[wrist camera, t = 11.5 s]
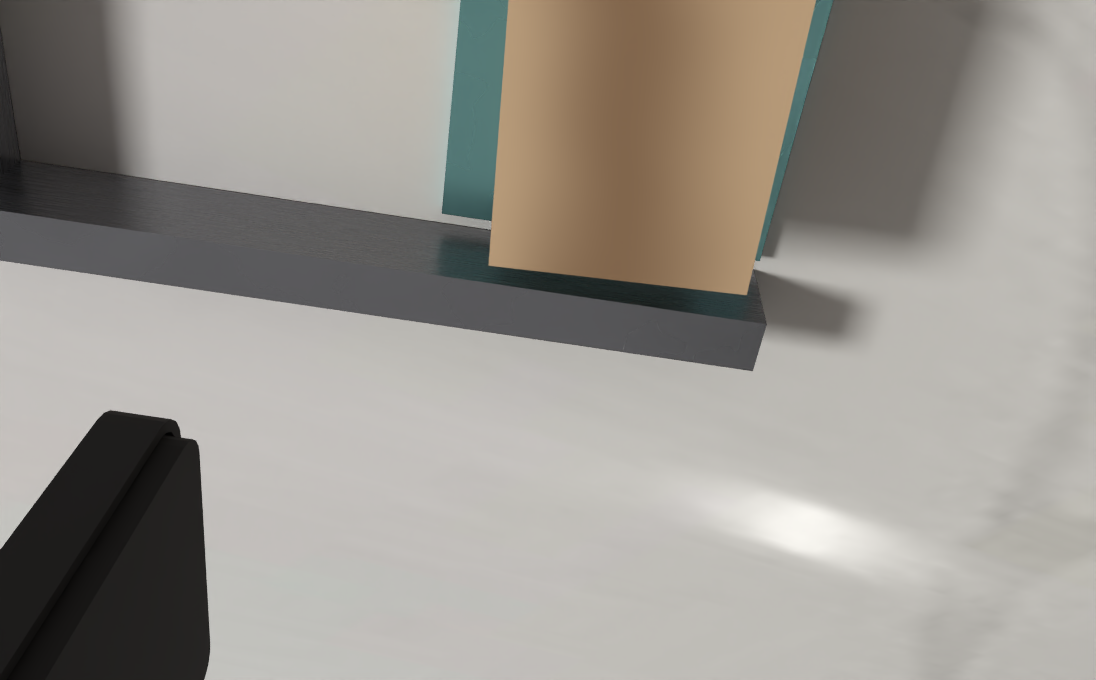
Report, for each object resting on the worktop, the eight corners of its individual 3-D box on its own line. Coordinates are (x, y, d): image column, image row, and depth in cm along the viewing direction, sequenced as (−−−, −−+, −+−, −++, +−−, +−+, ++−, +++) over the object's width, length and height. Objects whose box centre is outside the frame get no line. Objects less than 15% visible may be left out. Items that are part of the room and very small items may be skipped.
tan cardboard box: (804, -160, 23) (845, -128, 19) (727, 203, 28) (746, 295, 24) (539, -192, 23) (521, -166, 19) (508, 178, 28) (488, 265, 24)
